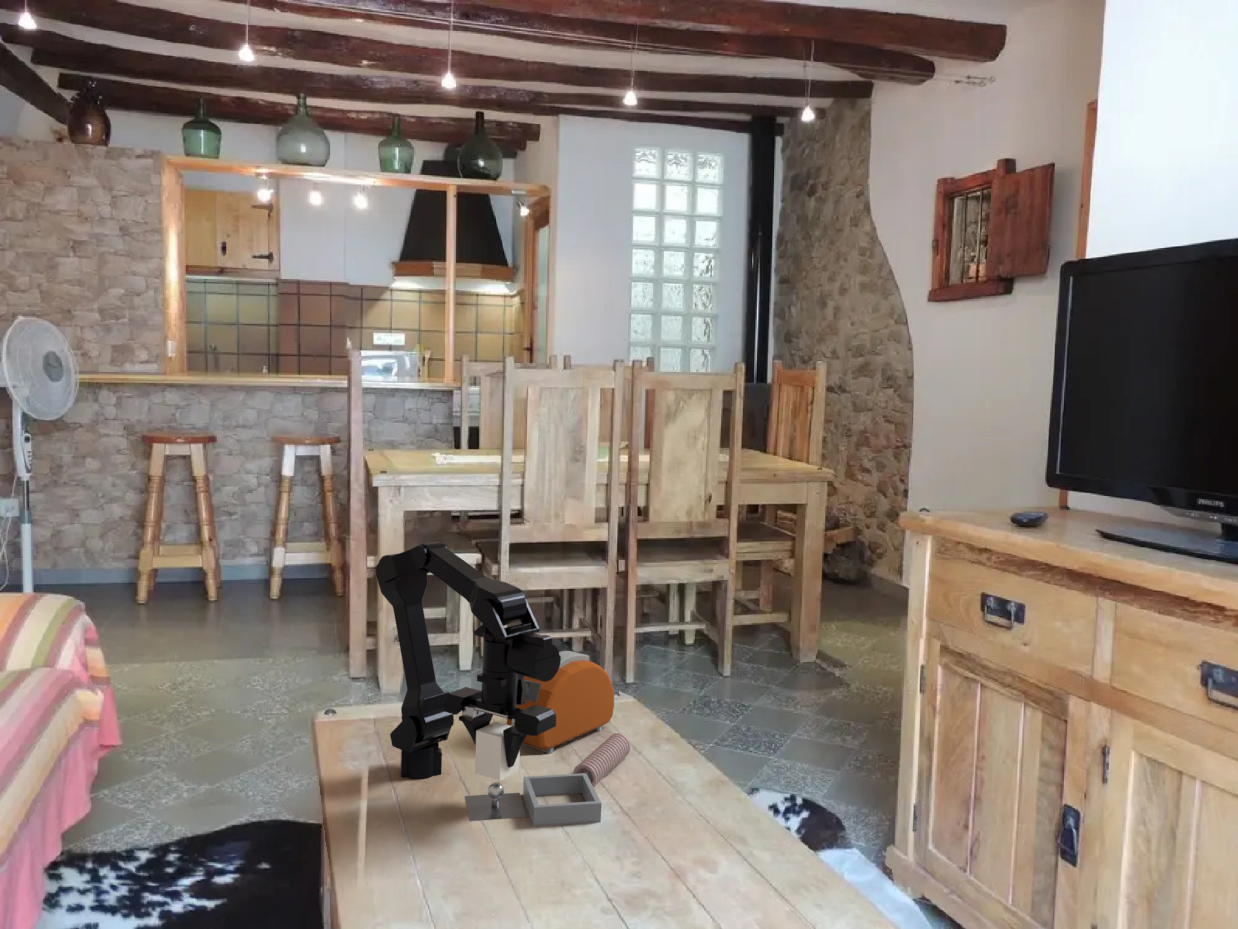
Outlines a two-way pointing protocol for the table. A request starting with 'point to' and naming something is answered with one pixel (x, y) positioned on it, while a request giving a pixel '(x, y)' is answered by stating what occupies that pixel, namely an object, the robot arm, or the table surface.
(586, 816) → the bin
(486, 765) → the cream rectangular block
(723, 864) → the table surface
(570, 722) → the orange grey rounded block
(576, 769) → the coil
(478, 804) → the stud plate
